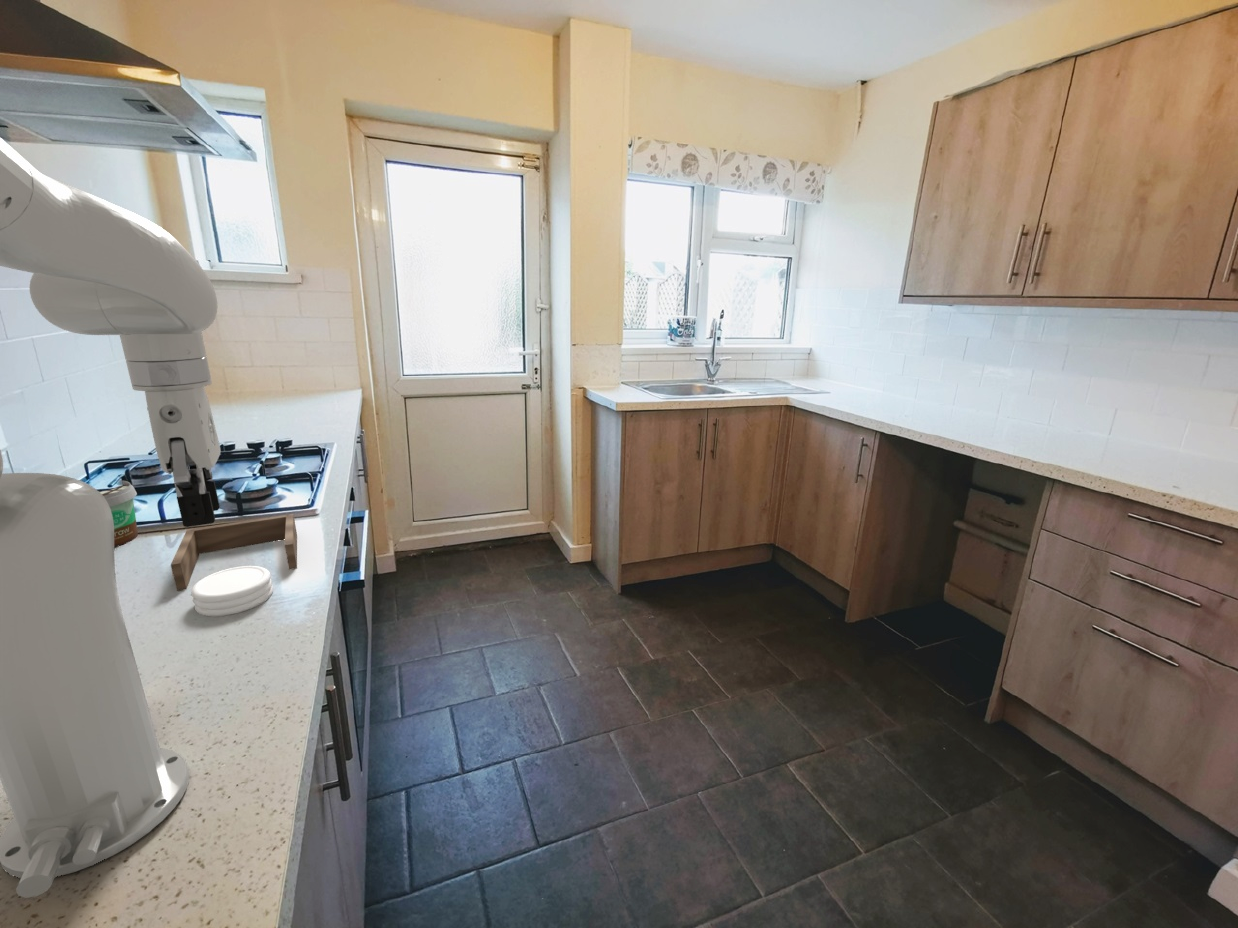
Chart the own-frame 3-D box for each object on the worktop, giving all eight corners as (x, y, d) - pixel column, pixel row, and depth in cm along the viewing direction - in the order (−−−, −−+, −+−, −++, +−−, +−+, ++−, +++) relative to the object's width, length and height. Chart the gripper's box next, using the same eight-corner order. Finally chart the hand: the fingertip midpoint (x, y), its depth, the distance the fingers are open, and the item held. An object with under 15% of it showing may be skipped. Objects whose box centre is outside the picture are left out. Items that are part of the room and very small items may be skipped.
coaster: (274, 578, 92) (270, 559, 91) (273, 606, 84) (269, 586, 83) (199, 593, 87) (194, 573, 86) (191, 625, 79) (185, 603, 78)
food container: (95, 558, 98) (80, 504, 95) (67, 554, 99) (51, 501, 96) (163, 530, 109) (151, 482, 107) (137, 527, 111) (125, 479, 108)
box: (297, 568, 95) (292, 543, 94) (177, 590, 87) (170, 564, 86) (297, 535, 108) (293, 513, 106) (192, 552, 100) (186, 529, 99)
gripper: (199, 381, 61) (231, 536, 66) (217, 364, 75) (242, 493, 80) (110, 386, 58) (151, 548, 63) (146, 367, 72) (178, 502, 77)
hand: (202, 516), depth 72 cm, fingers open, 4 cm apart
